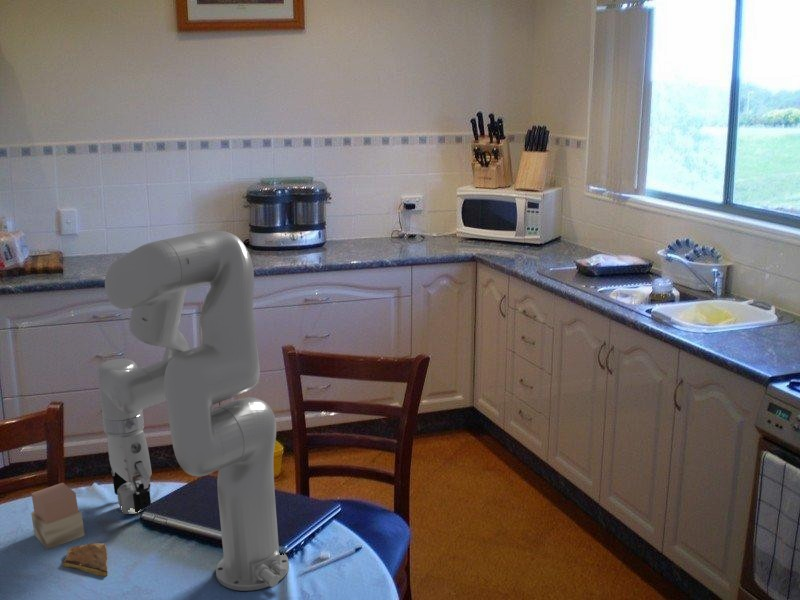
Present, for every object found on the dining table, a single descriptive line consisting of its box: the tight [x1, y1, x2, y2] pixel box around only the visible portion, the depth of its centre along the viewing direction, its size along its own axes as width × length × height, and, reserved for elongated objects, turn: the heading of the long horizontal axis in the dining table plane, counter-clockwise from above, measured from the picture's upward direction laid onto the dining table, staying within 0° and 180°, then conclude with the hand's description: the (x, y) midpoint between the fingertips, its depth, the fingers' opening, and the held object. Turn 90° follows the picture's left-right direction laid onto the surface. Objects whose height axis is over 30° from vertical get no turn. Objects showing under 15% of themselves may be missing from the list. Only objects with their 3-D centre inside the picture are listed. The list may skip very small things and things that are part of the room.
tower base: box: [30, 509, 86, 550], centre depth 166 cm, size 7×7×5 cm
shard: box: [61, 542, 109, 577], centre depth 156 cm, size 11×8×2 cm
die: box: [117, 481, 141, 515], centre depth 175 cm, size 5×5×5 cm
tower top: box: [31, 482, 79, 523], centre depth 165 cm, size 6×6×4 cm
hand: (132, 501), depth 175 cm, fingers open, 9 cm apart
